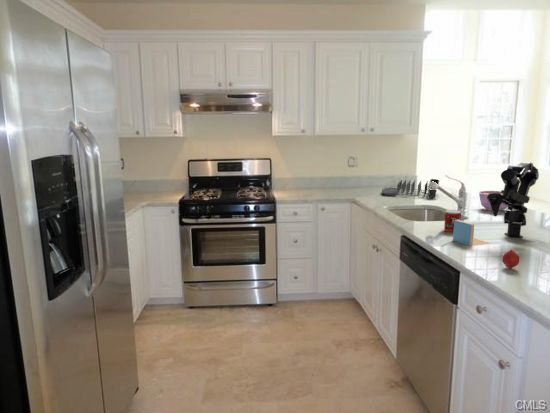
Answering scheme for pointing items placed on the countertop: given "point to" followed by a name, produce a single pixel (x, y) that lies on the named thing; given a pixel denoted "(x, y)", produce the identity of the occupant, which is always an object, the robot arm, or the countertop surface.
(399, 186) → the dish rack
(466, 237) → the tile
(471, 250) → the countertop surface
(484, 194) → the bowl of food
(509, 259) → the onion
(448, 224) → the canned food
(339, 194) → the countertop surface
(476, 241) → the mat
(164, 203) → the countertop surface
